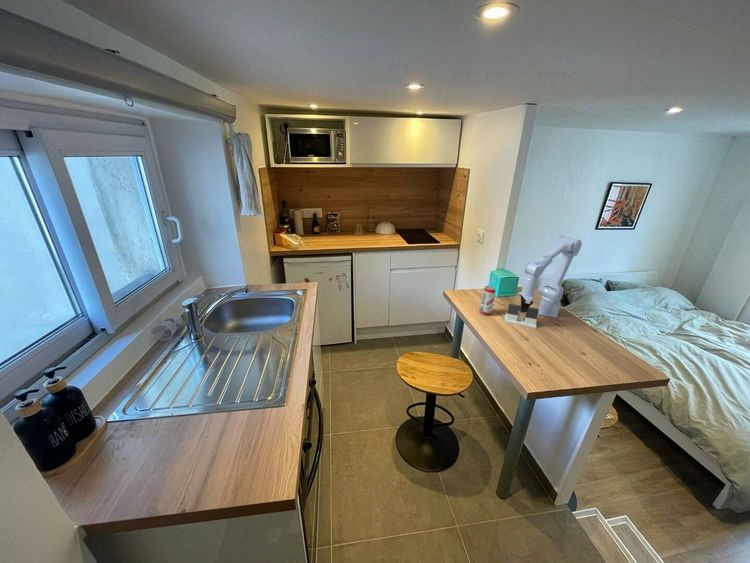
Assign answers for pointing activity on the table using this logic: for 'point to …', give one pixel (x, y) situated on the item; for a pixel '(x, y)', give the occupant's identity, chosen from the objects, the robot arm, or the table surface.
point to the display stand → (520, 320)
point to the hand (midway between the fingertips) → (523, 309)
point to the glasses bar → (515, 309)
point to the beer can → (487, 300)
